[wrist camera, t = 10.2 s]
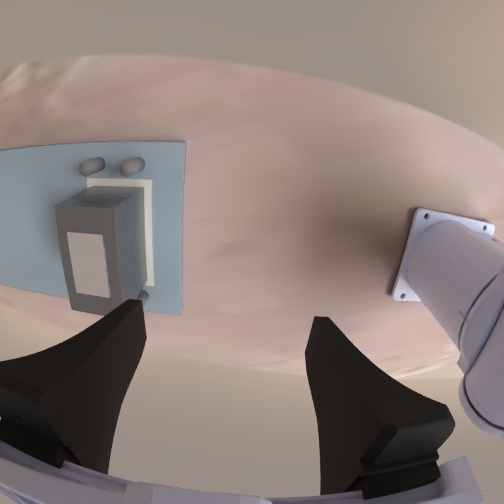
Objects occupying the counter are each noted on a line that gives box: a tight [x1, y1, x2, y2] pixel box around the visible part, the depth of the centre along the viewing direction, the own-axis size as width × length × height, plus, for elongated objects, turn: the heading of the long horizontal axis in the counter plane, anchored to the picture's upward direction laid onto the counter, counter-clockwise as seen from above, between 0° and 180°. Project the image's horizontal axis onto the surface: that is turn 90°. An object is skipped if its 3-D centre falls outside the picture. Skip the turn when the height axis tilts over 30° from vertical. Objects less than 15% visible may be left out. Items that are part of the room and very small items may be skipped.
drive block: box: [55, 186, 148, 316], centre depth 18 cm, size 4×7×5 cm, turn 174°
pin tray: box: [0, 141, 186, 315], centre depth 20 cm, size 20×13×3 cm, turn 84°
